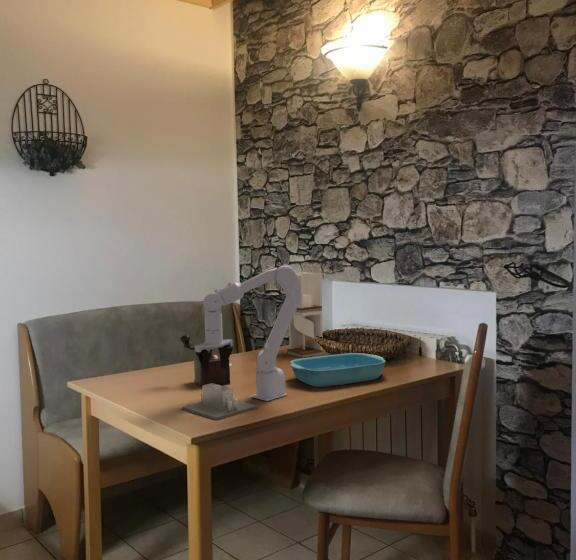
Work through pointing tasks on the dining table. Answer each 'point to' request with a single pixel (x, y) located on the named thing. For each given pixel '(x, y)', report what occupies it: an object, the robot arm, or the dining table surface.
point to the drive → (217, 396)
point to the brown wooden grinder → (215, 371)
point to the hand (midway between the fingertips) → (215, 370)
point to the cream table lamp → (307, 317)
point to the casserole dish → (338, 369)
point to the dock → (217, 413)
